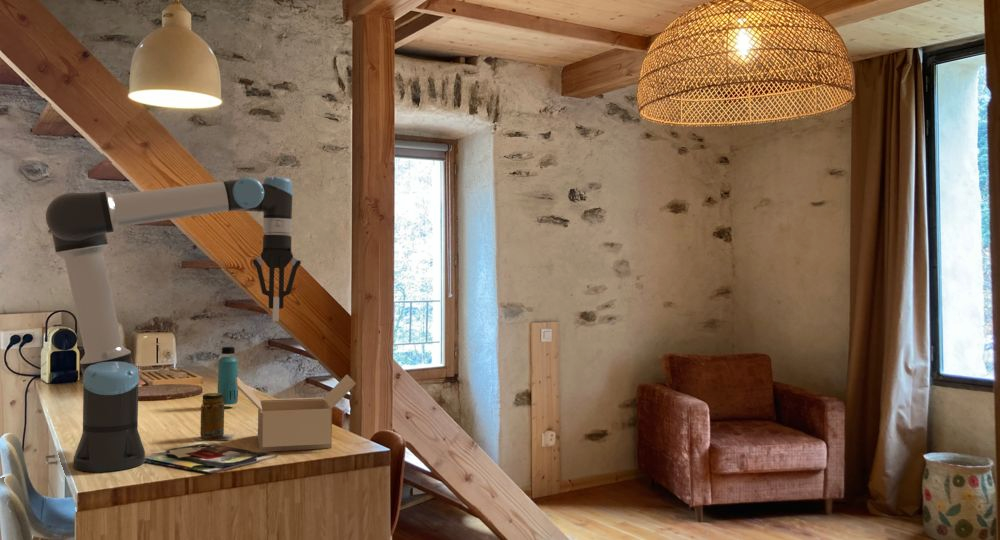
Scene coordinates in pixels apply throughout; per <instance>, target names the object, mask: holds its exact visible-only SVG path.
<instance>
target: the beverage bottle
mask: <svg viewBox="0 0 1000 540" xmlns="http://www.w3.org/2000/svg"><path fill="white" fill-rule="evenodd" d="M235 350H236V349H235V347H233V346H223V347H222V348H221V354H222V355H234V354H236V351H235ZM217 364H218V365H217V367H218V368H217V393H220V394H223V404H224V406H228V405H236V404H237V403H238V397H239V389H238V388H237V387H236V377H238V378H239V360H238V358H236V357H235V356H221V357H220V359H218V361H217Z"/></svg>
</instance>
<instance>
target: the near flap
mask: <svg viewBox="0 0 1000 540" xmlns="http://www.w3.org/2000/svg"><path fill="white" fill-rule="evenodd" d="M317 444H331V409H307V410H281V411H263V445H262V447H279V446H298V445H317Z"/></svg>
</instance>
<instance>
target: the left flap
mask: <svg viewBox="0 0 1000 540" xmlns="http://www.w3.org/2000/svg"><path fill="white" fill-rule="evenodd" d="M236 387H237V388H238V391H239V392H241V393H242V394H243V396H245V397H246V398H247V400H249V401H250V402H251V403H252V404H253V405H254V407H256V408H257V410H258V409H259V410H260V411H262V406H261V401H260V400H261V399H260V398H259V397H258V396H257V394H255V393H254V392H253V391H252V390H251V389H250V388H249V387H248V386H247V385H246V384H245V383H244V382H243V381H242V380H241V379H240V378H239V376H238V377H236Z"/></svg>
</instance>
